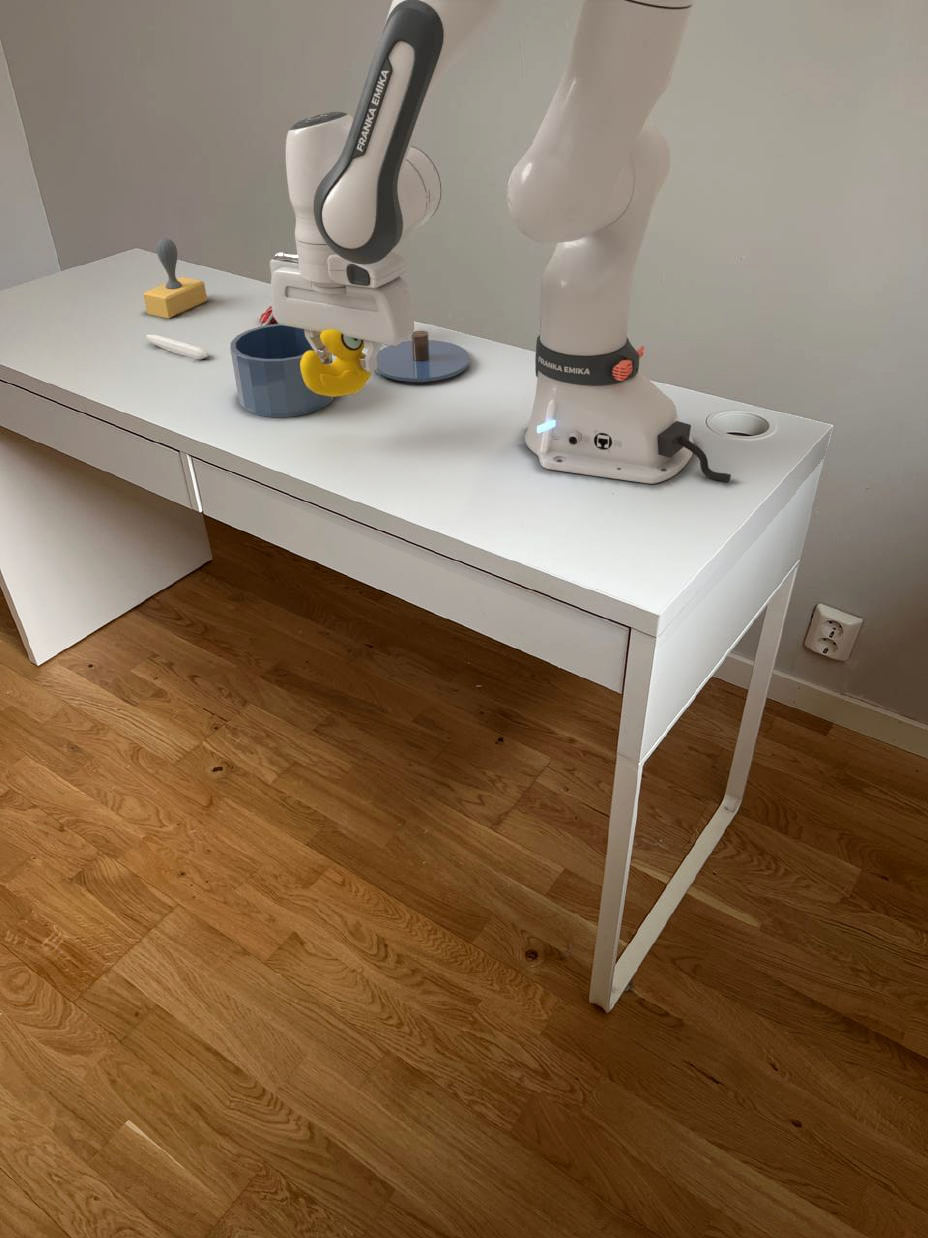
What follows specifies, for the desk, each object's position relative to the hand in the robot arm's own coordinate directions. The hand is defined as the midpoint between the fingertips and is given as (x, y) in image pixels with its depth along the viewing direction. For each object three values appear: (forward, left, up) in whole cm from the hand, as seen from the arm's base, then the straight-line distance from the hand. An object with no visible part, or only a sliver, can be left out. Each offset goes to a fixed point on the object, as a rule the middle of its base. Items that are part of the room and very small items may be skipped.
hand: (346, 365), depth 133 cm
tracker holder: (+36, -30, -11) cm, 47 cm away
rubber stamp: (+58, -28, -11) cm, 65 cm away
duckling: (0, +1, -4) cm, 4 cm away
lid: (+5, -26, -10) cm, 28 cm away
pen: (+43, -12, -11) cm, 46 cm away
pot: (+17, -7, -11) cm, 21 cm away
